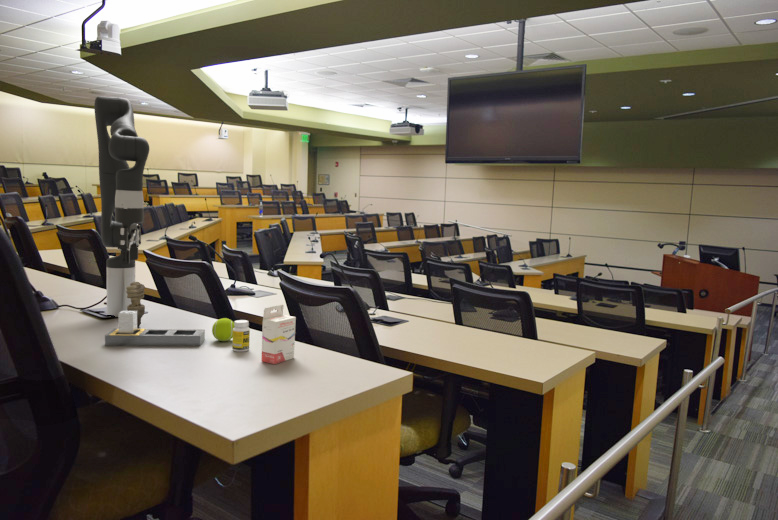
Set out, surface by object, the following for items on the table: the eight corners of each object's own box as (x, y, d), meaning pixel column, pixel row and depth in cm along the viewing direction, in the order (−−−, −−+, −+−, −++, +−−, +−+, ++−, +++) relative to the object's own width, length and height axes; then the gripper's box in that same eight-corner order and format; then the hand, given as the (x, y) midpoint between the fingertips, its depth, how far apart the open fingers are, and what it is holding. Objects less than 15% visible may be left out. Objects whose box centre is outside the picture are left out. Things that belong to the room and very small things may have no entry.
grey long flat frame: (114, 338, 167) (114, 328, 166) (204, 339, 171) (204, 329, 171) (105, 345, 159) (104, 334, 159) (200, 345, 163) (200, 335, 163)
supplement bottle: (244, 352, 158) (245, 323, 157) (229, 351, 159) (229, 322, 158) (252, 348, 163) (252, 320, 162) (237, 347, 164) (237, 318, 163)
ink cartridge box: (275, 365, 148) (276, 310, 147) (260, 361, 151) (262, 308, 149) (295, 357, 156) (296, 305, 154) (281, 354, 158) (282, 303, 157)
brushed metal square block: (123, 340, 165) (122, 310, 164) (137, 340, 166) (137, 310, 165) (118, 343, 162) (118, 313, 161) (133, 344, 162) (133, 313, 161)
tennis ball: (210, 344, 166) (210, 320, 165) (213, 338, 173) (213, 315, 172) (234, 343, 167) (235, 321, 167) (236, 338, 174) (237, 316, 173)
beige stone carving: (139, 329, 179) (139, 283, 177) (123, 328, 179) (122, 282, 177) (147, 325, 185) (147, 280, 183) (131, 324, 185) (131, 280, 183)
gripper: (123, 204, 168) (123, 258, 170) (107, 206, 154) (107, 264, 156) (149, 206, 169) (149, 259, 171) (136, 207, 155) (136, 265, 157)
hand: (129, 261), depth 164 cm, fingers open, 8 cm apart
